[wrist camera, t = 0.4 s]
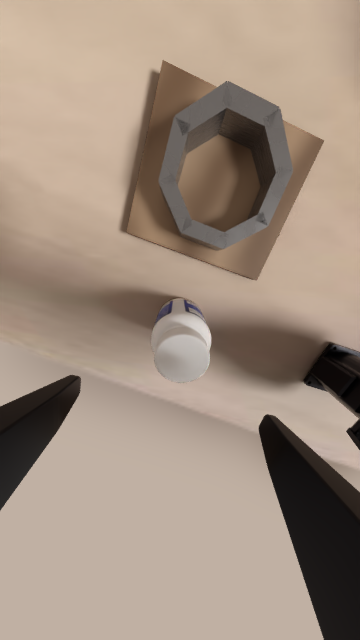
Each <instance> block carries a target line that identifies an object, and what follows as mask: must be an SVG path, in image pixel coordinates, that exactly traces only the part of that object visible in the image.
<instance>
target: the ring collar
mask: <svg viewBox="0 0 360 640" xmlns="http://www.w3.org/2000/svg"><path fill="white" fill-rule="evenodd" d="M218 134H219V135H221V136H223V137H225V138H227V139H230V140H232V141H234V142H236V143H238V144H240V145H242V146H245V147H247V148H249V149H251V153H252V157H253V161H254V164H255V168H256V172H257V175H258V179H259V183H260V186H261V187H260V189H259V192H258V194H257V197H256V199H255V201H254V204H253V206H252V209H251V211H250V213H249V216H248V218H247V221H245V222H243V223H241V224H239V225H237V226H235V227H233V228H231V229H229V230H227V231H226V232H222V231H220V230H217V229H215V228H212V227H210V226H207V225H205V224H202V223H200V222H197V221H195V220H192V219H191V217H190V215H189V212H188V210H187V207H186V205H185V203H184V200H183V198H182V195H181V193H180V190H179V188H178V183H179V180H180V176H181V173H182V169H183V166H184V162H185V158H186V155H187V154H188V153H189V152H191V151H192V150H194V149H196V148H197V147H199V146H201V145H202V144H204V143H205V142H207V141H209V140H210V139H212V138H214V137H215V136H217V135H218ZM292 171H293V167H292V162H291V157H290V152H289V148H288V143H287V138H286V134H285V129H284V124H283V119H282V115H281V110H280V108H279V107H278V106H276V105H274V104H272V103H271V102H269V101H267V100H265V99H263V98H261V97H259V96H257V95H255V94H253V93H251V92H249V91H247V90H245V89H243V88H241V87H239V86H237V85H235V84H233V83H231V82H229V81H228V83H227V81H226V82H225V83H223V84H222V85H220V86H219V87H217V88H216V89H214V90H213V91H211V92H210V93H208V94H206V95H205V96H203V97H202V98H200V99H199V100H197V101H196V102H194V103H193V104H191V105H190V106H188V107H187V108H185V109H184V110H182V111H181V112H179V113H178V114H176V115H175V117H174V119H173V123H172V127H171V131H170V135H169V139H168V143H167V147H166V151H165V156H164V160H163V164H162V168H161V172H160V176H159V180H158V181H159V186H160V190H161V194H162V196H163V198H164V201H165V203H166V205H167V208H168V210H169V212H170V214H171V217H172V219H173V221H174V223H175V226H176V228H177V230H178V233H179V235H180V236H181V237H182V238H185V239H187V240H190V241H192V242H195V243H198V244H200V245H203V246H206V247H208V248H211V249H213V250H216V251H219V250H222V249H225V248H227V247H229V246H231V245H233V244H235V243H237V242H239V241H241V240H243V239H245V238H247V237H249V236H251V235H253V234H255V233H257V232H259V231H260V230H262V229H264V228H266V227H267V226H269V223H270V221H271V219H272V217H273V215H274V213H275V210H276V208H277V206H278V204H279V202H280V199H281V197H282V195H283V193H284V191H285V189H286V186H287V184H288V182H289V180H290V178H291V175H292V173H293V172H292Z"/></svg>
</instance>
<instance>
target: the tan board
mask: <svg viewBox="0 0 360 640" xmlns="http://www.w3.org/2000/svg"><path fill="white" fill-rule="evenodd" d="M216 88H217V87H216V86H214V85H212V84H210V83H208V82H206V81H204V80H202V79H200V78H198V77H196V76H194V75H192V74H190V73H188V72H186V71H184V70H182V69H180V68H178V67H176V66H174V65H172V64H170V63H168V62H166V61H164V60H163V62H162V66H161V71H160V76H159V81H158V85H157V90H156V95H155V99H154V104H153V109H152V114H151V118H150V123H149V128H148V132H147V137H146V142H145V147H144V151H143V156H142V161H141V165H140V170H139V175H138V180H137V184H136V189H135V194H134V198H133V203H132V208H131V213H130V217H129V222H128V227H127V231H126V232H127V233H129V234H131V235H134V236H136V237H139V238H142V239H145V240H147V241H150V242H153V243H155V244H158V245H161V246H164V247H166V248H169V249H172V250H174V251H177V252H180V253H182V254H185V255H188V256H191V257H193V258H196V259H199V260H201V261H204V262H207V263H209V264H212V265H215V266H218V267H220V268H223V269H226V270H228V271H231V272H234V273H237V274H239V275H242V276H245V277H247V278H250V279H253V280H257V279H258V277H259V275H260V272H261V270H262V268H263V266H264V264H265V262H266V260H267V258H268V256H269V254H270V252H271V250H272V248H273V246H274V244H275V241H276V239H277V237H278V235H279V233H280V231H281V229H282V227H283V225H284V223H285V221H286V219H287V217H288V215H289V212H290V210H291V208H292V206H293V204H294V202H295V200H296V198H297V196H298V194H299V192H300V190H301V188H302V186H303V183H304V181H305V179H306V177H307V175H308V173H309V171H310V169H311V167H312V165H313V163H314V161H315V159H316V157H317V154H318V152H319V150H320V148H321V146H322V144H323V142H324V140H322V139H320V138H318V137H316V136H314V135H312V134H310V133H308V132H306V131H304V130H302V129H300V128H298V127H296V126H294V125H292V124H290V123H288V122H286V121H284V120H283V124H284V129H285V134H286V138H287V143H288V148H289V152H290V157H291V162H292V167H293V171H292V172H293V173H292V175H291V178H290V180H289V182H288V184H287V186H286V189H285V191H284V193H283V195H282V197H281V199H280V202H279V204H278V206H277V208H276V210H275V213H274V215H273V217H272V219H271V221H270V223H269V226H267V227H266V228H264V229H262V230H260V231H259V232H257V233H255V234H253V235H251V236H249V237H247V238H245V239H243V240H241V241H239V242H237V243H235V244H233V245H231V246H229V247H227V248H225V249H222V250H219V251H216V250H213V249H211V248H208V247H206V246H203V245H200V244H198V243H195V242H192V241H190V240H187V239H185V238H182V237H181V236H180V235H179V233H178V230H177V228H176V226H175V223H174V221H173V219H172V217H171V214H170V212H169V210H168V208H167V205H166V203H165V201H164V198H163V196H162V194H161V190H160V186H159V181H158V180H159V176H160V172H161V168H162V164H163V160H164V156H165V151H166V147H167V143H168V139H169V135H170V131H171V127H172V123H173V119H174V117H175V115H176V114H178V113H179V112H181V111H182V110H184V109H185V108H187V107H188V106H190V105H191V104H193V103H194V102H196V101H197V100H199V99H200V98H202V97H203V96H205V95H206V94H208V93H210V92H211V91H213V90H214V89H216ZM260 187H261V186H260V183H259V179H258V175H257V172H256V168H255V164H254V161H253V157H252V153H251V149H249V148H247V147H245V146H242V145H240V144H238V143H236V142H234V141H232V140H230V139H227V138H225V137H223V136H221V135H219V134H218V135H217V136H215V137H214V138H212V139H210V140H209V141H207V142H205V143H204V144H202V145H201V146H199V147H197V148H196V149H194V150H192V151H191V152H189V153H188V154H187V155H186V158H185V162H184V166H183V169H182V173H181V176H180V180H179V183H178V188H179V190H180V193H181V195H182V198H183V200H184V203H185V205H186V207H187V210H188V212H189V215H190V217H191V219H192V220H195V221H197V222H200V223H202V224H205V225H207V226H210V227H212V228H215V229H217V230H220V231H222V232H226V231H227V230H229V229H231V228H233V227H235V226H237V225H239V224H241V223H243V222H245V221H247V218H248V216H249V213H250V211H251V209H252V206H253V204H254V201H255V199H256V197H257V194H258V192H259V189H260Z"/></svg>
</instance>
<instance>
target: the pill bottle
mask: <svg viewBox="0 0 360 640" xmlns="http://www.w3.org/2000/svg"><path fill="white" fill-rule="evenodd" d="M151 347H152V350H153V352H154V362H155V366H156V368H157V370H158V372H159V373H160V374H161V375H162V376H163V377H165V378H166V379H168V380H170V381H173V382H178V383H185V382H190V381H193V380H196V379H197V378H199V377H200V376H202V375H203V374H204V373H205V371H206V370H207V368H208V366H209V363H210V353H209V350H210V347H211V333H210V330H209V327H208V325H207V323H206V321H205V319H204V317H203V315H202V313H201V311H200V309H199V308H198V306H197V305H196V304H195V303H193V302H192V301H190V300H187V299H183V298H177V299H173V300H170V301H168V302H167V303H165V304H164V305H163V306H162V308H161V309H160V311H159V314H158V316H157V319H156V322H155V325H154V328H153V330H152V334H151Z"/></svg>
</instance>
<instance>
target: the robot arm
mask: <svg viewBox="0 0 360 640" xmlns="http://www.w3.org/2000/svg"><path fill="white" fill-rule="evenodd" d="M304 383H305V384H306V385H307V386H311V387H314V388H317V389H321V390H324V391H327V392H329V393H330V394H331V395H332V396H333V397H335V398H336V399H337V400H338V401H339V402H340V403H341V404H343V405H344V406H345V407H346V408H347V409H348V410H350V411H351V412H352V413H353V414H354V415H355V416H356V417H358V418H359V420H358V421H357V422H356V423H355V424H354V425H353V426H352V427H351V428H348V430H347V431H346V432H347V433H348V435H349V436H350V437H351V439H352V440H353V442H354V443H355V444H356V446H357V447H358V449H359V450H360V352H358V351H355V350H352V349H349V348H346V347H343V346H340V345H337V344H334V343H332V344H330V345H329V346H328V347H327V348H326V350H325V351H324V353H323V354H322V355H321V357H320V358H319V360H318V361H317V362H316V364H315V365H314V367H313V368H312V369H311V371H310V372H309V374H308V375H307V376H306V378H305V379H304ZM80 386H81V378H80V377H79V376H75V375H69V376H67V377H65V378H63V379H60V380H58V381H56V382H54V383H51V384H49V385H47V386H45V387H43V388H40V389H38V390H36V391H34V392H32V393H29V394H27V395H25V396H23V397H20V398H18V399H16V400H14V401H12V402H9V403H7V404H5V405H3V406H0V510H1V509H2V507H3V506H4V505H5V503H6V502H7V500H8V499H9V498H10V496H11V495H12V493H13V492H14V491H15V489H16V488H17V487H18V485H19V484H20V482H21V481H22V480H23V478H24V477H25V475H26V474H27V473H28V471H29V470H30V469H31V467H32V466H33V464H34V463H35V462H36V460H37V459H38V457H39V456H40V455H41V453H42V452H43V450H44V449H45V448H46V446H47V445H48V444H49V442H50V441H51V439H52V438H53V437H54V435H55V434H56V432H57V431H58V429H59V428H60V426H61V424H62V423H63V421H64V419H65V418H66V416H67V414H68V413H69V411H70V409H71V408H72V406H73V404H74V402H75V401H76V399H77V397H78V396H79V393H80ZM259 434H260V438H261V442H262V446H263V450H264V454H265V459H266V463H267V466H268V470H269V473H270V476H271V479H272V482H273V485H274V488H275V492H276V495H277V498H278V501H279V504H280V507H281V510H282V513H283V516H284V519H285V522H286V525H287V528H288V531H289V534H290V537H291V540H292V543H293V546H294V550H295V553H296V556H297V559H298V562H299V565H300V568H301V571H302V574H303V577H304V580H305V583H306V586H307V589H308V592H309V595H310V598H311V601H312V605H313V608H314V611H315V614H316V616H317V620H318V623H319V626H320V629H321V632H322V635H323V638H324V640H360V492H359V491H358V490H357V489H355V488H354V487H353V486H352V485H351V484H350V483H349V482H347V480H345V479H344V478H343V477H342V476H341V475H340V474H339V473H338V472H337V471H335V470H334V469H333V468H332V467H331V466H330V465H329V464H328V463H327V462H325V461H324V460H323V459H322V458H321V457H320V456H319V455H318V454H317V453H315V452H314V451H313V450H312V449H311V448H310V447H309V446H308V445H307V444H305V443H304V442H303V441H302V440H301V439H300V438H299V437H298V436H296V435H295V434H294V433H293V432H292V431H291V430H290V429H289V428H288V427H286V426H285V425H284V424H283V423H282V422H281V421H280V420H279V419H278V418H276V417H275V416H273V415H268V414H267V415H265V416H264V418H263V420H262V422H261V423H260V425H259Z"/></svg>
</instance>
